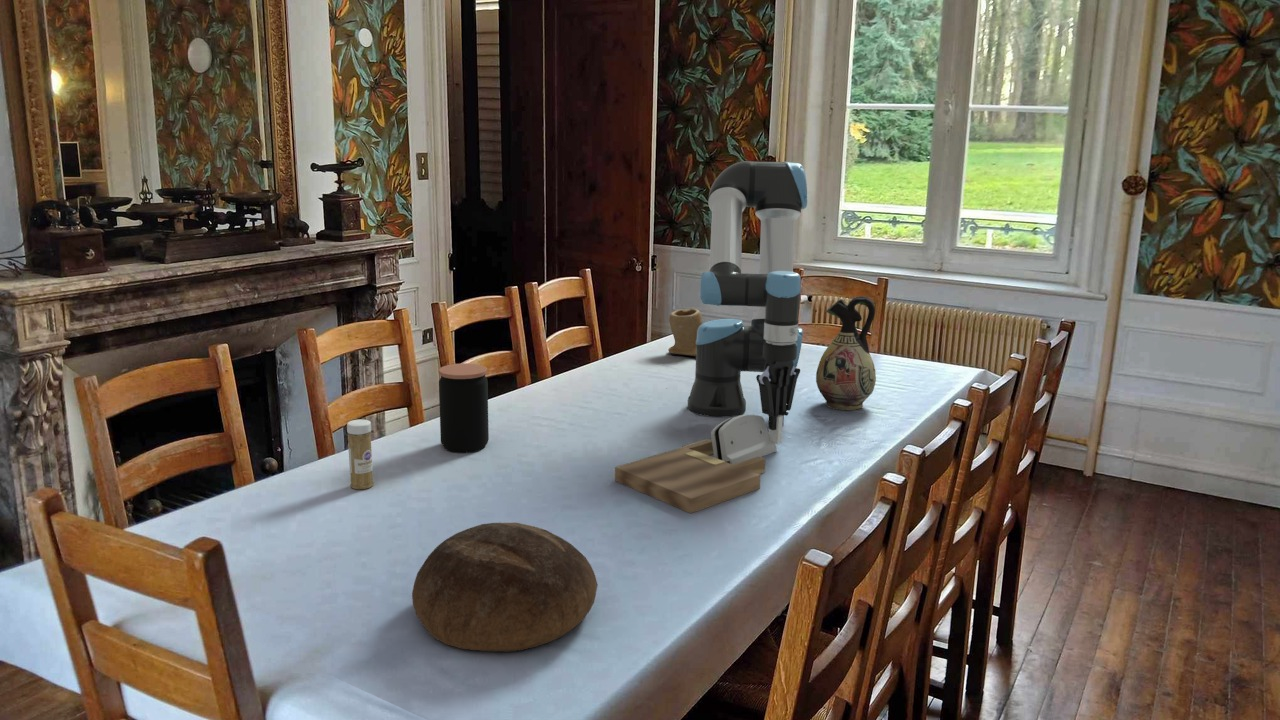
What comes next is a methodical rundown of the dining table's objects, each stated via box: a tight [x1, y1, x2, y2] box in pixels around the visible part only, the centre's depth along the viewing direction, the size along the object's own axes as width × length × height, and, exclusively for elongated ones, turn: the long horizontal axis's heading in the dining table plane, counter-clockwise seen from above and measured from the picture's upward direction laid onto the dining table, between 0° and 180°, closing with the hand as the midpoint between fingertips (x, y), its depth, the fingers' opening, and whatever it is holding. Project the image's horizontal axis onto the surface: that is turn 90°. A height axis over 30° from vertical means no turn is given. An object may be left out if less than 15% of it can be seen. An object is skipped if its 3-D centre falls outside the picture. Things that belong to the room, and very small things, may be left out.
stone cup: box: [668, 308, 703, 357], centre depth 303 cm, size 15×12×15 cm
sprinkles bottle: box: [346, 419, 375, 490], centre depth 189 cm, size 5×5×14 cm
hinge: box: [710, 414, 778, 465], centre depth 213 cm, size 17×5×10 cm, turn 136°
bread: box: [411, 522, 598, 652], centre depth 142 cm, size 26×27×13 cm
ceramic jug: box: [815, 296, 877, 411], centre depth 249 cm, size 17×15×30 cm
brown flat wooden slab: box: [614, 438, 766, 514], centre depth 198 cm, size 22×28×3 cm
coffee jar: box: [438, 363, 490, 454], centre depth 214 cm, size 11×11×18 cm
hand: (774, 442), depth 217 cm, fingers closed
